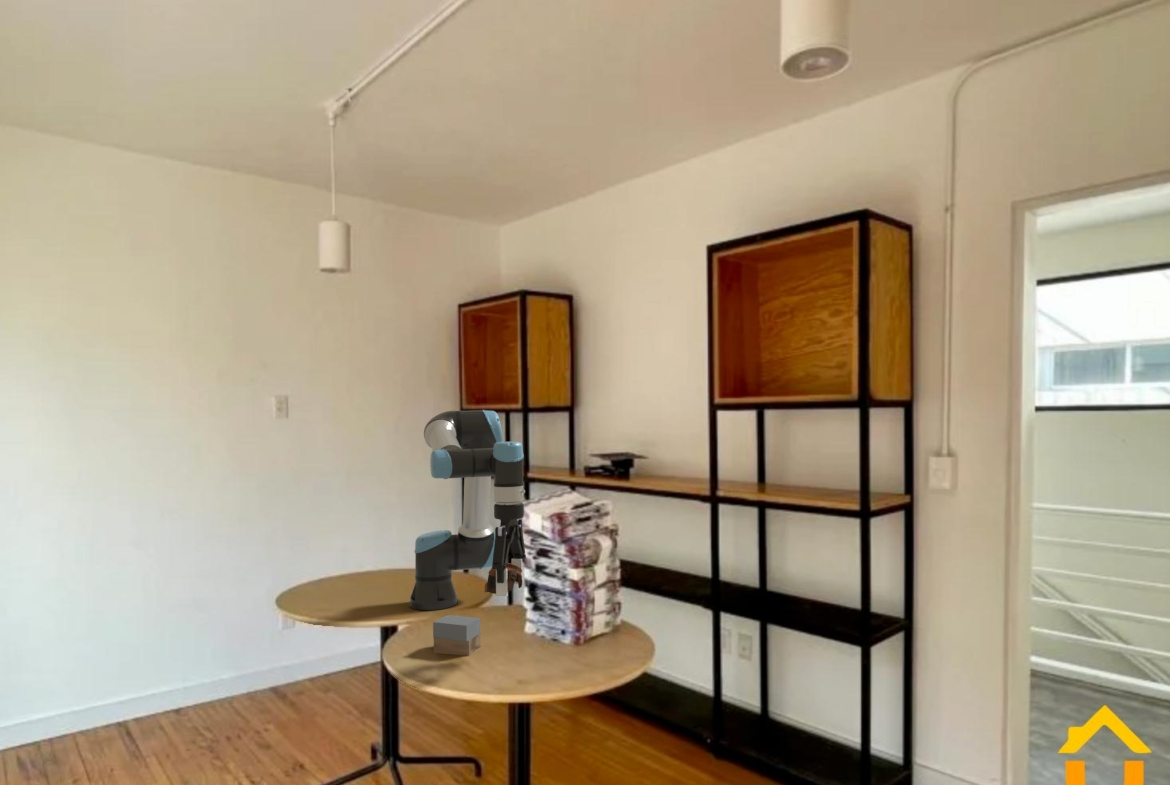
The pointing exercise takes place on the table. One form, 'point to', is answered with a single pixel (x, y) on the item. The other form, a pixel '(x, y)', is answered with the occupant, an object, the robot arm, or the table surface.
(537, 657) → the table surface
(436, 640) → the walnut block
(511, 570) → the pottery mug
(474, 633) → the blue-grey block
